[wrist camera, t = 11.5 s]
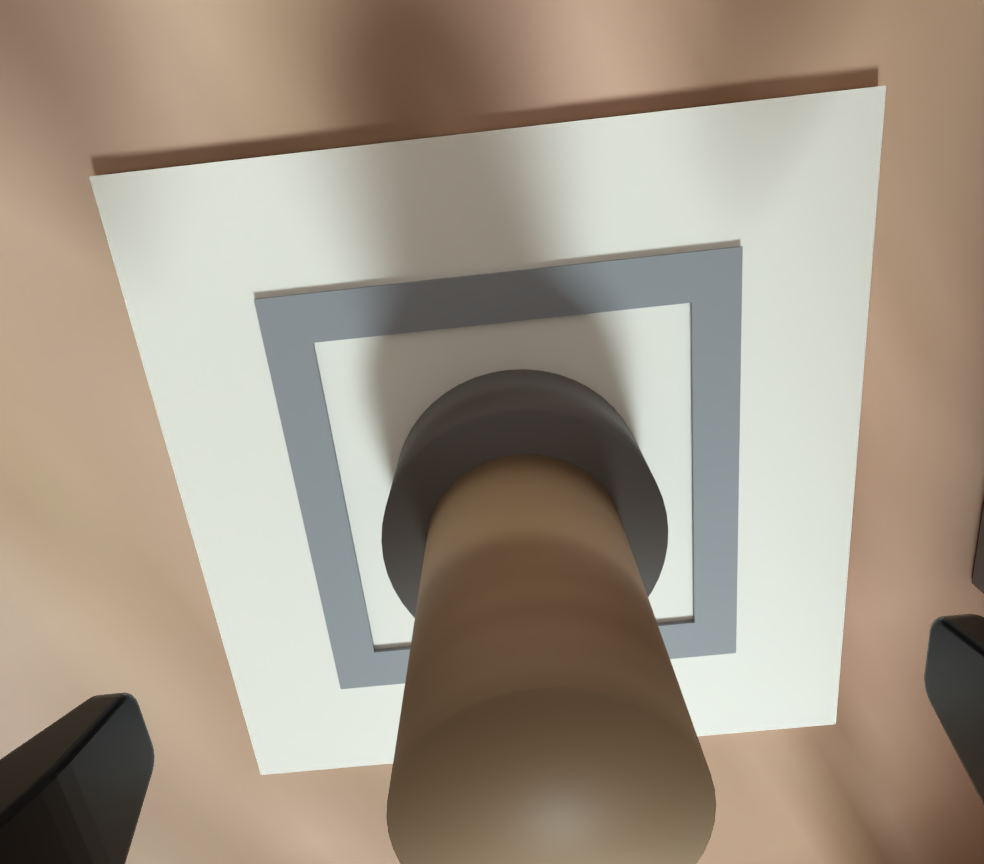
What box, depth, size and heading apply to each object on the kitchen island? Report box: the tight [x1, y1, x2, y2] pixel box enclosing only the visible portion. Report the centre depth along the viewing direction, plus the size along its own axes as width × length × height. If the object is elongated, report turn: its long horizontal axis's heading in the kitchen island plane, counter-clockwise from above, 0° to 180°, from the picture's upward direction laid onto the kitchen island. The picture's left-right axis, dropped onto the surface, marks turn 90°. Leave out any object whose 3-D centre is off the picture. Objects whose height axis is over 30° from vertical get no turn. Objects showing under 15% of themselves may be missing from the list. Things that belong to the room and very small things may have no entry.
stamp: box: [381, 369, 716, 864], centre depth 10 cm, size 4×4×7 cm
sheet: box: [89, 86, 886, 775], centre depth 13 cm, size 12×12×1 cm
